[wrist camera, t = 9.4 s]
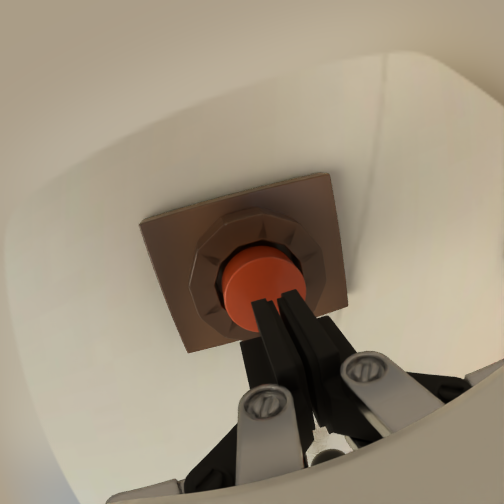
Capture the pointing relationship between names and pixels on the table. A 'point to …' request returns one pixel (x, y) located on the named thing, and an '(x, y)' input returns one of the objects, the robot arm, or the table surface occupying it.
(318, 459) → the lever
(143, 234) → the button block
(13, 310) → the table surface
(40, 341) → the table surface
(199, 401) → the table surface
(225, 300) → the button
